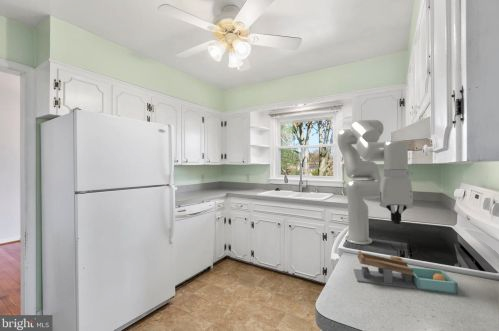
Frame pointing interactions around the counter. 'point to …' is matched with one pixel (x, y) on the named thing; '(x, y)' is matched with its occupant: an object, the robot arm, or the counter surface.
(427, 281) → the dish
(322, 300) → the counter surface
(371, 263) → the seesaw lever
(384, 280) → the lever stand
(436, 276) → the ball
